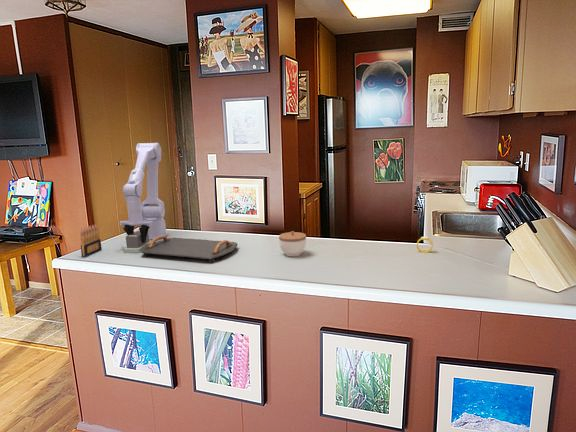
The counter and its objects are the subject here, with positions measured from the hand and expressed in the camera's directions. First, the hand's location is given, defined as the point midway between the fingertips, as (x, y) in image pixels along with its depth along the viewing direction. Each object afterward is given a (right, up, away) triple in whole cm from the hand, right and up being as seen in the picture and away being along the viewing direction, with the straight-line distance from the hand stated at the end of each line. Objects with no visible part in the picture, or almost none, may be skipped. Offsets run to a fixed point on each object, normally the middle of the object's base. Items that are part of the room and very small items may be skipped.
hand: (138, 242), depth 196 cm
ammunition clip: (-18, -5, -5) cm, 19 cm away
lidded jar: (+67, -4, -15) cm, 69 cm away
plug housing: (0, -1, 0) cm, 1 cm away
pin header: (0, -3, +1) cm, 3 cm away
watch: (+118, -3, -18) cm, 120 cm away
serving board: (+24, -4, -8) cm, 26 cm away
